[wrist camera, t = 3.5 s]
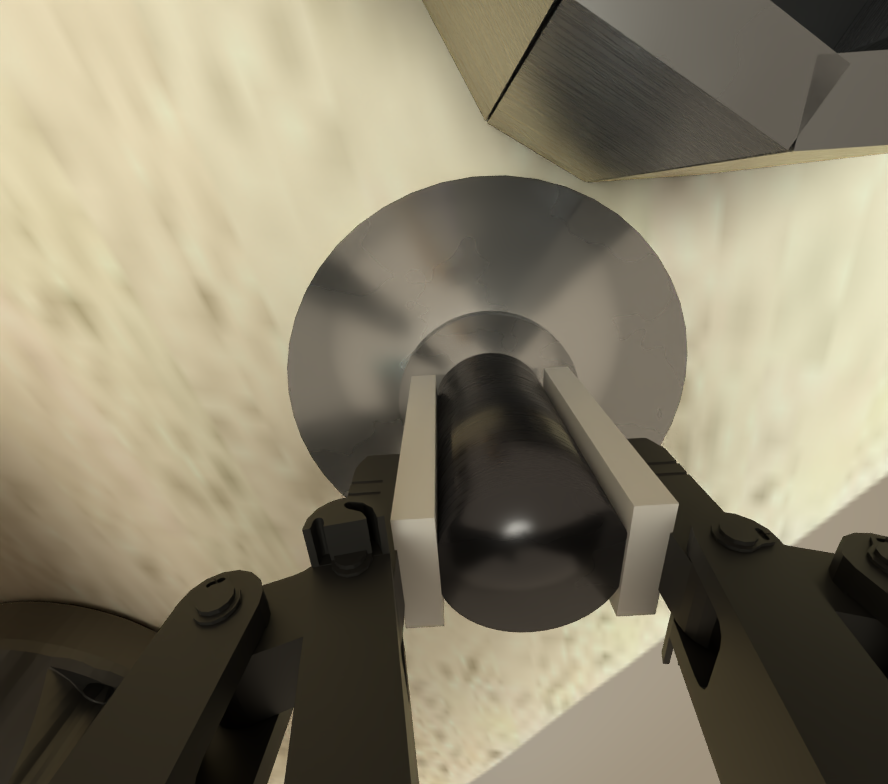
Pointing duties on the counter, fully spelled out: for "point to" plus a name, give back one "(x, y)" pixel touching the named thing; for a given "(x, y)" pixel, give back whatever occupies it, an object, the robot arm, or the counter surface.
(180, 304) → the counter surface
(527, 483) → the lid
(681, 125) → the pot
